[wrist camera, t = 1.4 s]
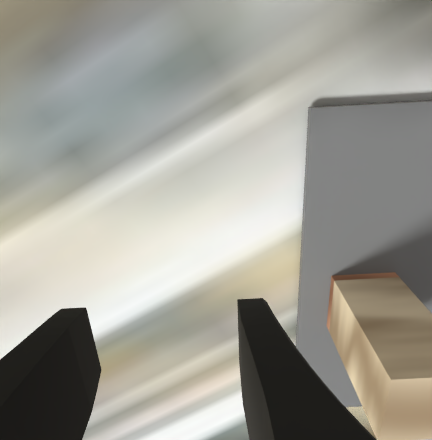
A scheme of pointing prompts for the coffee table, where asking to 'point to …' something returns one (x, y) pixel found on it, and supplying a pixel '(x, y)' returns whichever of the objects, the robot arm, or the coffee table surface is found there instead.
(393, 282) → the maple block
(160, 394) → the coffee table surface
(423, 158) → the mat
